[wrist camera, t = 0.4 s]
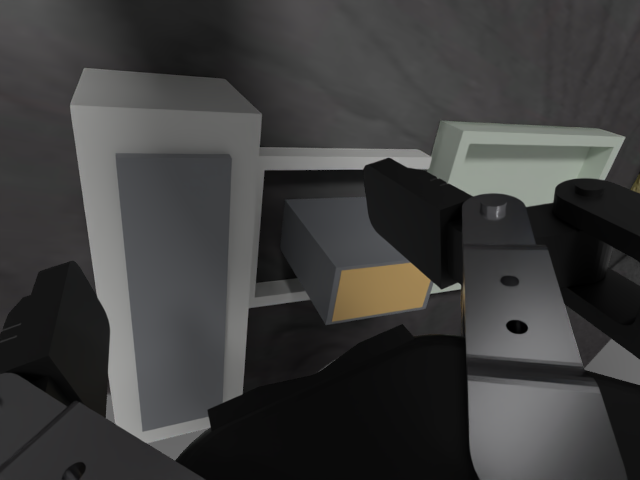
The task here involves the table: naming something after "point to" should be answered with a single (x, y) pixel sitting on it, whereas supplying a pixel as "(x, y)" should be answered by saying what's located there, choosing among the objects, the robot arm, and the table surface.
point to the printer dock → (181, 235)
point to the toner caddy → (348, 261)
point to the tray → (519, 159)
